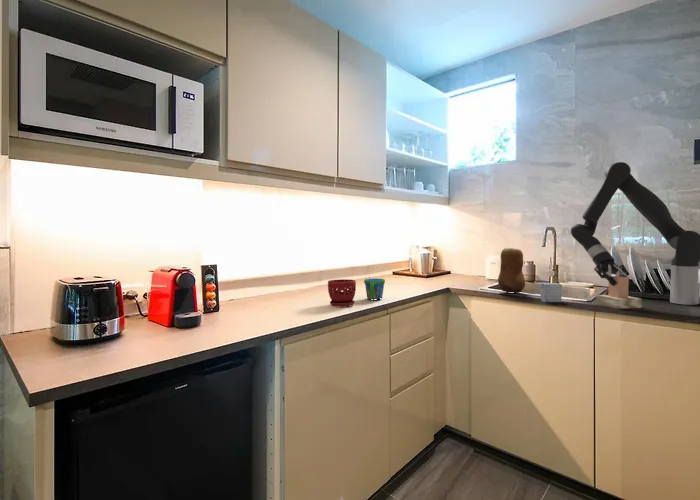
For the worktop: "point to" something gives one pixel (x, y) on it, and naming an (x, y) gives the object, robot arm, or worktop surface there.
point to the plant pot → (345, 296)
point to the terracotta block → (619, 287)
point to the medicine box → (551, 292)
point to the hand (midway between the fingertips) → (621, 284)
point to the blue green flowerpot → (374, 288)
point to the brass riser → (619, 302)
